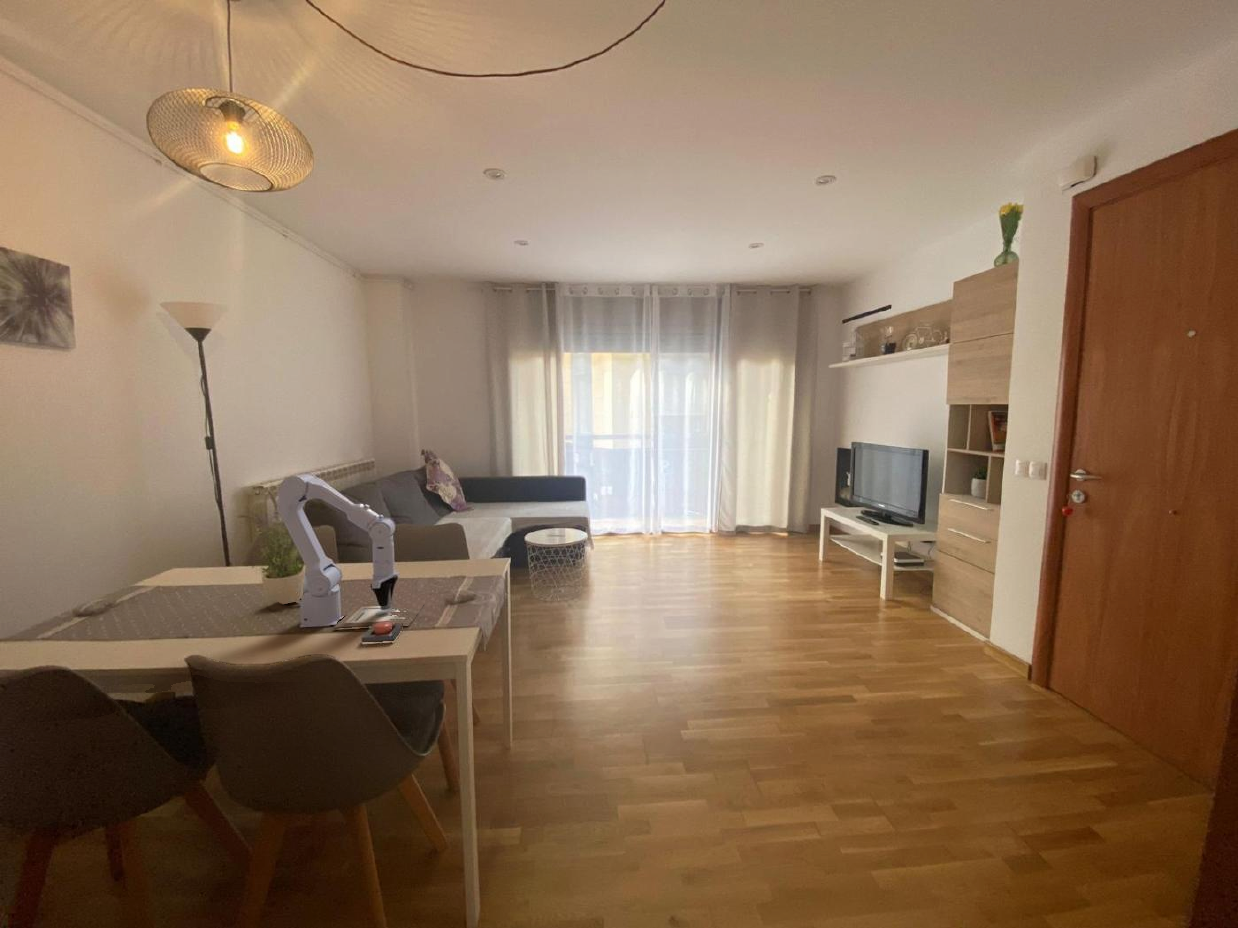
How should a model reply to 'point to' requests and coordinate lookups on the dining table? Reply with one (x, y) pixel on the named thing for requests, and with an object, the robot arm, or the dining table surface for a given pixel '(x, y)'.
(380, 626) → the button
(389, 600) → the gray capped cylinder
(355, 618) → the drawing board
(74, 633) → the dining table surface
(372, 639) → the button housing
